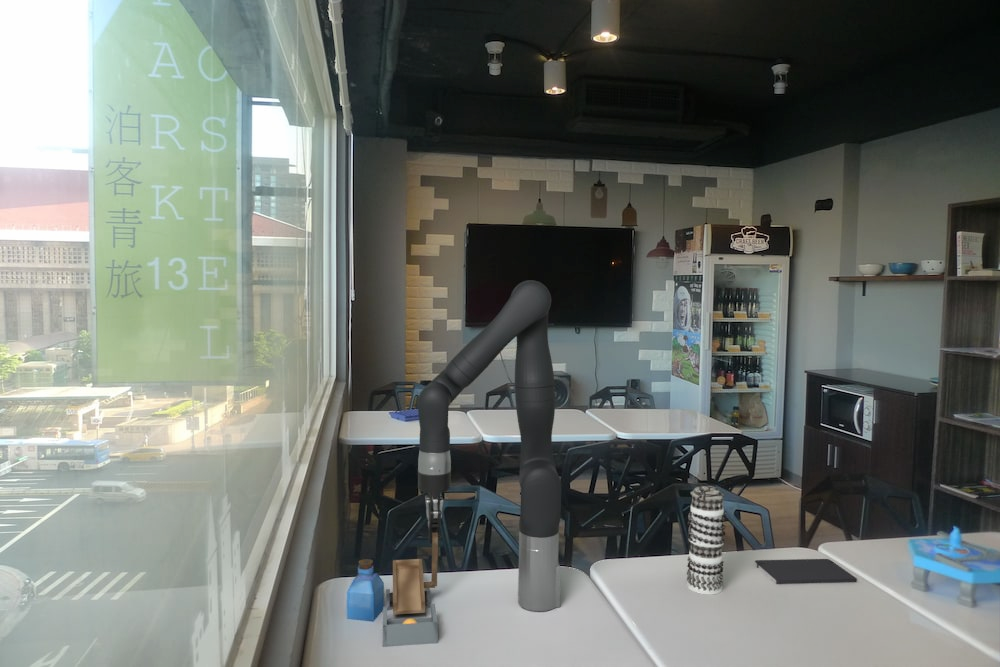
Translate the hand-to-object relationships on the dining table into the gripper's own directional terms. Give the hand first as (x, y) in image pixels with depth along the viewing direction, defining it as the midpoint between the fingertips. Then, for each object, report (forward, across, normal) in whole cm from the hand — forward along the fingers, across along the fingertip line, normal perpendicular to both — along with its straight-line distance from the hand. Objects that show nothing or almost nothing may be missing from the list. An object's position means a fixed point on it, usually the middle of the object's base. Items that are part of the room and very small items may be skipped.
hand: (433, 542), depth 160 cm
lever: (+11, -1, +4) cm, 12 cm away
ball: (+12, -16, +6) cm, 21 cm away
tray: (+14, -14, +6) cm, 21 cm away
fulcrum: (+14, -1, +6) cm, 15 cm away
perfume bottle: (+14, -4, +15) cm, 22 cm away
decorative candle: (+14, -1, -67) cm, 69 cm away
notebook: (+14, +4, -97) cm, 98 cm away
